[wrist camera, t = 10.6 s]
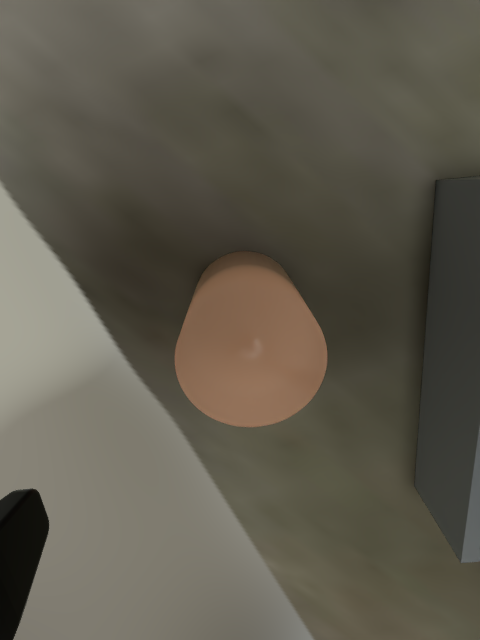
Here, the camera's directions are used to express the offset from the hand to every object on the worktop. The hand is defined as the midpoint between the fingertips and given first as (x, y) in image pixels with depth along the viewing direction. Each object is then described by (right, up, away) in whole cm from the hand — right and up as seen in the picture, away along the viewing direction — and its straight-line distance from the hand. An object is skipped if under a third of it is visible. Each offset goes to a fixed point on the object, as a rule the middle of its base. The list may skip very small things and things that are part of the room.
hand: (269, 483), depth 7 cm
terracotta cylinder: (0, +4, +12) cm, 12 cm away
